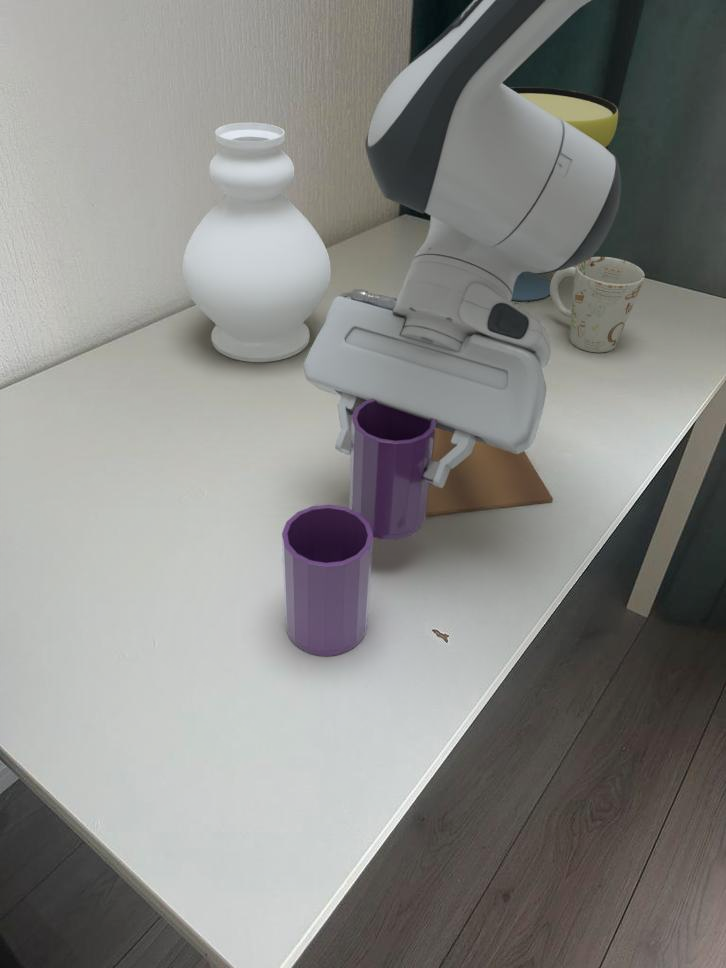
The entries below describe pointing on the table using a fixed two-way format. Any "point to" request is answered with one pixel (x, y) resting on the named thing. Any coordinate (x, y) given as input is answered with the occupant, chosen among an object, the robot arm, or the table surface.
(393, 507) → the cup
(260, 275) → the decorative vase
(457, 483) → the mat
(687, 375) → the table surface
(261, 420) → the table surface
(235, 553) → the table surface
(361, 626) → the cup
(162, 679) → the table surface
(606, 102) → the cocktail glass
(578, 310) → the mug
